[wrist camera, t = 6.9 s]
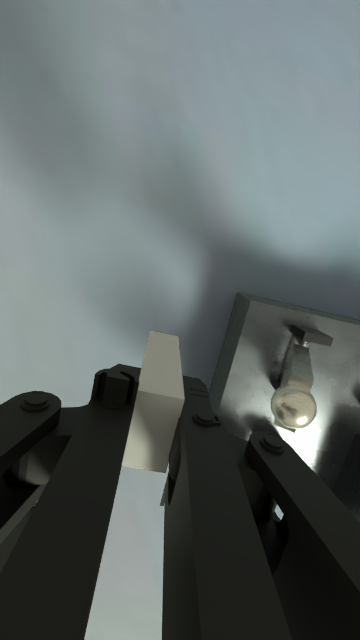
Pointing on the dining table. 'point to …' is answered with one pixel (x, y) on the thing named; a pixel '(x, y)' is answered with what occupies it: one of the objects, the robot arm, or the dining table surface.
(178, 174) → the dining table surface
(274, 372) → the panel
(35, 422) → the robot arm
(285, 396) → the lever
